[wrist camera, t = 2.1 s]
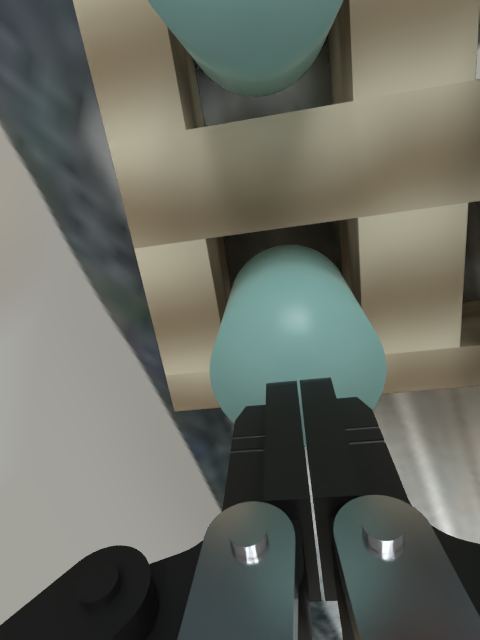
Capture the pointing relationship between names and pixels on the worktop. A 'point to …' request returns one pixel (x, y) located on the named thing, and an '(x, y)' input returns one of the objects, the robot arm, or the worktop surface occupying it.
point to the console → (304, 180)
